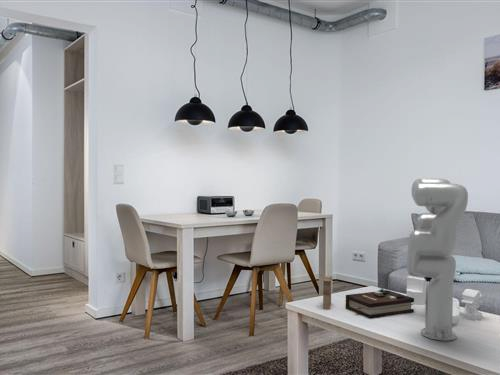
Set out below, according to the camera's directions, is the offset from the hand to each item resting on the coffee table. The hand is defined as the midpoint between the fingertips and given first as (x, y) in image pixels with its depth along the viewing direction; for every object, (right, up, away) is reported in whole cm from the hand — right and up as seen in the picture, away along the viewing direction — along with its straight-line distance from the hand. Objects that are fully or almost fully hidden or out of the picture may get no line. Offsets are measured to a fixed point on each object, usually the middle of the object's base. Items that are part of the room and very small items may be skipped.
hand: (428, 280), depth 198 cm
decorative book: (-21, -15, +4) cm, 26 cm away
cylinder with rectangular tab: (+2, -15, +20) cm, 25 cm away
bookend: (-44, -14, +10) cm, 47 cm away
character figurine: (+17, -15, -5) cm, 23 cm away
